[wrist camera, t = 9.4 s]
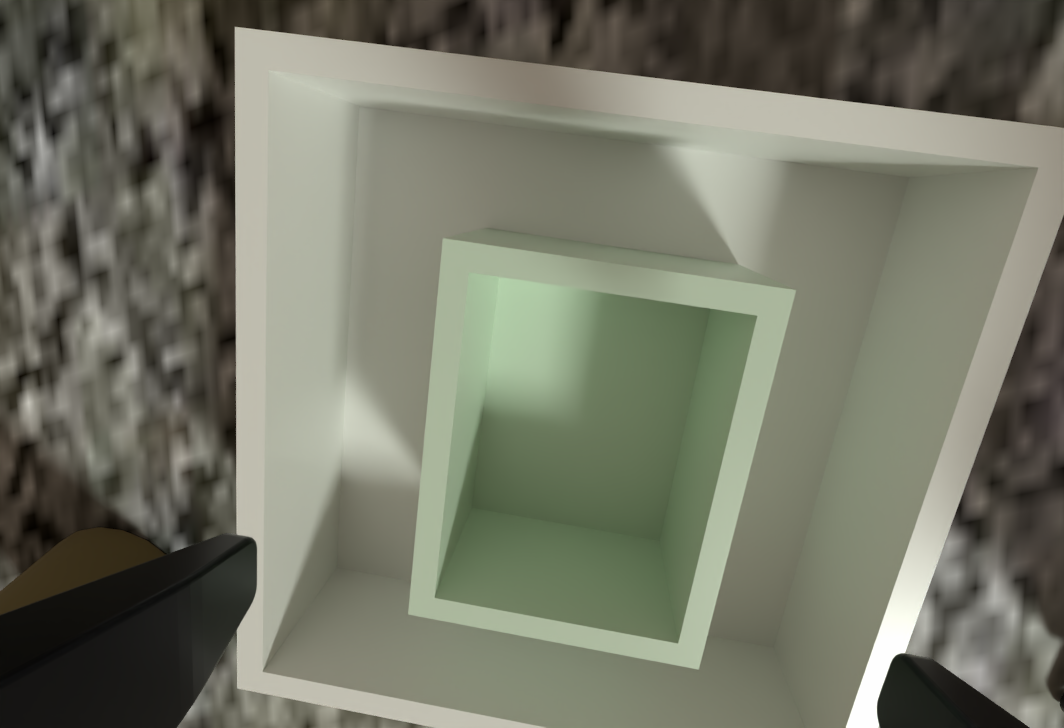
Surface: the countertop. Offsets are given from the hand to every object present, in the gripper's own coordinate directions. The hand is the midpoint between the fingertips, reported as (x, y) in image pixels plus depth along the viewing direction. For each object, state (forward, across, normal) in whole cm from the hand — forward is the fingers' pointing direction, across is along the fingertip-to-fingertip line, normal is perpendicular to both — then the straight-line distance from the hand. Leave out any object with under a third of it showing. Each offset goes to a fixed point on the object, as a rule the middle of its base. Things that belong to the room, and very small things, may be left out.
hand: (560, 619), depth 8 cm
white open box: (+11, 0, 0) cm, 11 cm away
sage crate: (+10, 0, 0) cm, 10 cm away
